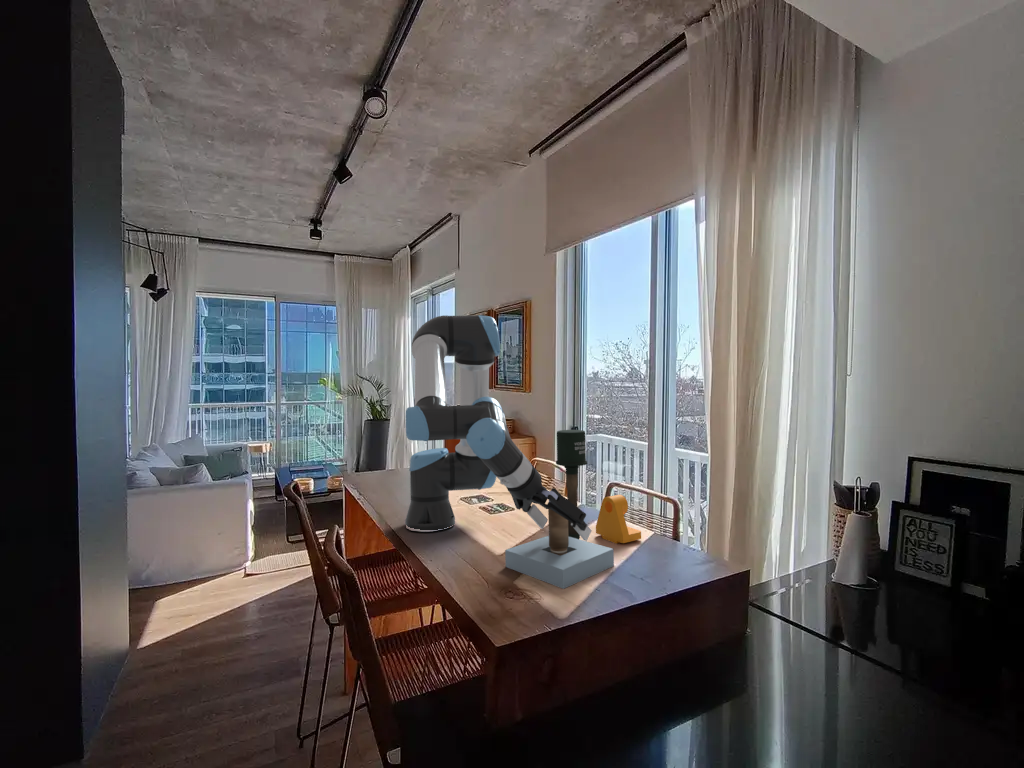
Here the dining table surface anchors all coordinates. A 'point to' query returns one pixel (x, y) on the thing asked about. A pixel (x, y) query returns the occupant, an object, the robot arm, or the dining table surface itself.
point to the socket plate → (559, 561)
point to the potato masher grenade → (571, 464)
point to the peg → (558, 533)
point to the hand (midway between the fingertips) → (565, 529)
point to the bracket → (615, 521)
